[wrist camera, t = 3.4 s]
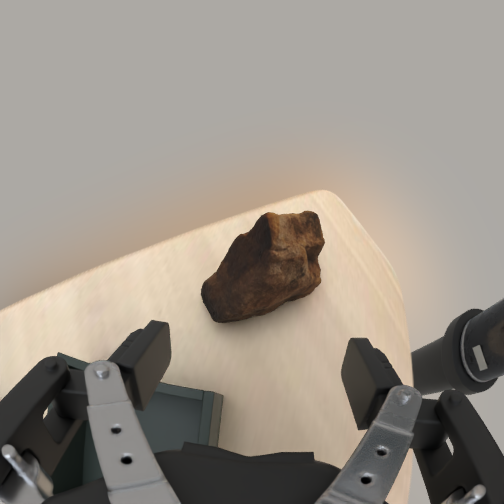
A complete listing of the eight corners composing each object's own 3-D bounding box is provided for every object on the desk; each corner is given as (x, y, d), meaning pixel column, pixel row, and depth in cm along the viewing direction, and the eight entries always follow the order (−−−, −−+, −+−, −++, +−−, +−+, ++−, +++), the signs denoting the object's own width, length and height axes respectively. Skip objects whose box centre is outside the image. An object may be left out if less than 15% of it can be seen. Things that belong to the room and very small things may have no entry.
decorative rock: (300, 254, 32) (318, 188, 22) (323, 300, 29) (355, 244, 19) (199, 287, 29) (176, 226, 20) (215, 338, 26) (196, 298, 17)
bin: (223, 395, 23) (214, 391, 18) (207, 541, 14) (196, 571, 8) (92, 366, 24) (57, 351, 18) (80, 500, 15) (46, 510, 9)
